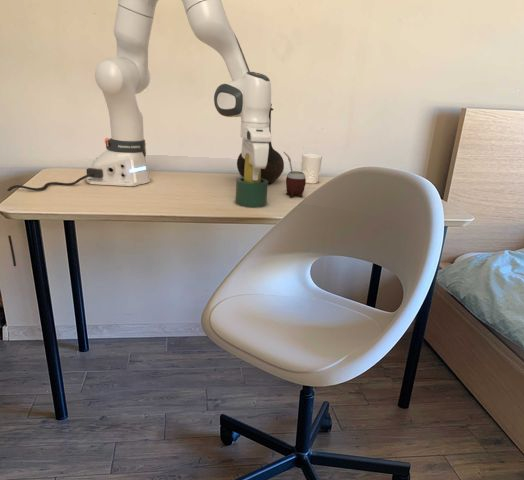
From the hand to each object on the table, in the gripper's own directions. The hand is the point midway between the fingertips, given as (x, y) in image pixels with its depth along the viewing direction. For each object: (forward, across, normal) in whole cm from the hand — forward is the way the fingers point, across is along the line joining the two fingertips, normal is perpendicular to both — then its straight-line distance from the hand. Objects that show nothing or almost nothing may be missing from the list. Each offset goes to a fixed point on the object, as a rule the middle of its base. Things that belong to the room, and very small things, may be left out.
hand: (252, 177), depth 165 cm
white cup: (+8, -33, +32) cm, 47 cm away
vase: (+7, 0, 0) cm, 7 cm away
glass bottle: (+8, -32, +11) cm, 35 cm away
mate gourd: (+8, -10, +18) cm, 22 cm away
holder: (+8, 0, 0) cm, 8 cm away
